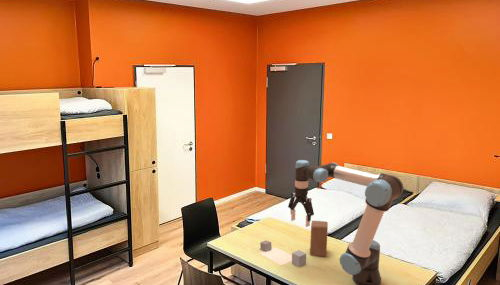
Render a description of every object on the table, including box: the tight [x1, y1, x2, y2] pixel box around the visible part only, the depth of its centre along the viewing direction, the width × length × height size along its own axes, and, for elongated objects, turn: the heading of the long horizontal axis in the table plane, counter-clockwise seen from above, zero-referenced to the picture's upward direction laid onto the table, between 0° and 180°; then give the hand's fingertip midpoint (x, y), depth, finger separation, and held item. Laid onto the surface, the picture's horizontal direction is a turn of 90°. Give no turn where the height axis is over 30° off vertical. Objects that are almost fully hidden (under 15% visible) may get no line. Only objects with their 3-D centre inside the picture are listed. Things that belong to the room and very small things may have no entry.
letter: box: [258, 246, 292, 266], centre depth 239 cm, size 20×14×1 cm
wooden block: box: [309, 220, 329, 258], centre depth 242 cm, size 10×10×20 cm
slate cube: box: [291, 249, 307, 268], centre depth 229 cm, size 6×6×7 cm
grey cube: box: [259, 240, 273, 252], centre depth 247 cm, size 5×5×5 cm
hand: (300, 223), depth 225 cm, fingers open, 11 cm apart
